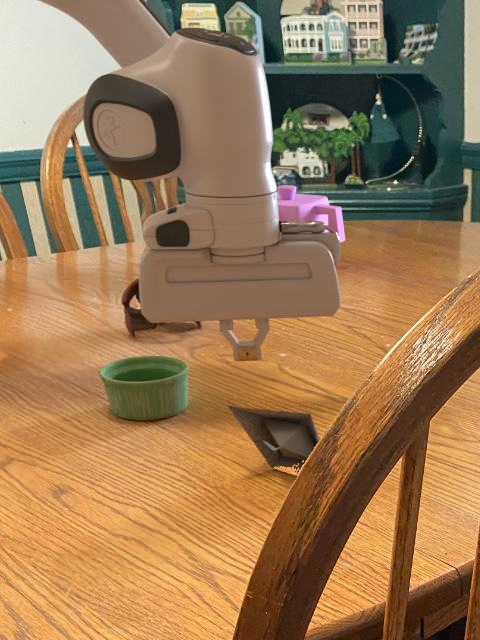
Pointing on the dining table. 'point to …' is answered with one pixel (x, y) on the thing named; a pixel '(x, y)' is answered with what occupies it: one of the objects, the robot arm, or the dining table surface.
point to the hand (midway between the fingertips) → (248, 359)
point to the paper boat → (279, 434)
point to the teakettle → (308, 209)
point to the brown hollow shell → (137, 311)
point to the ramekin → (146, 387)
